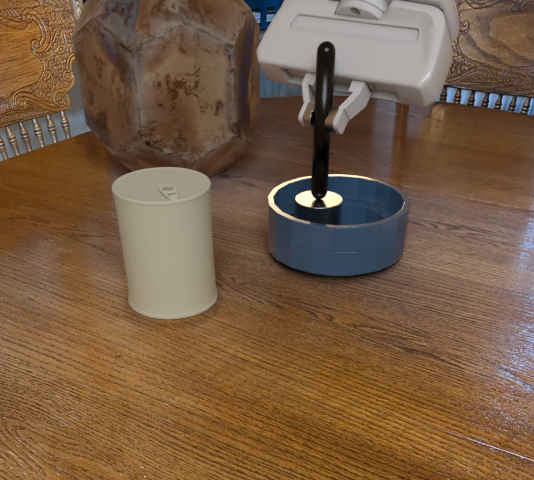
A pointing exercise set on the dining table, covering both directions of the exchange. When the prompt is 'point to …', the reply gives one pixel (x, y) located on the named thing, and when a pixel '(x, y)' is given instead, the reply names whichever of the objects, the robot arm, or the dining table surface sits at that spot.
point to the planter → (170, 80)
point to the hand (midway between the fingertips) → (319, 127)
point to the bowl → (340, 227)
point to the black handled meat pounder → (321, 148)
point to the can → (167, 241)
